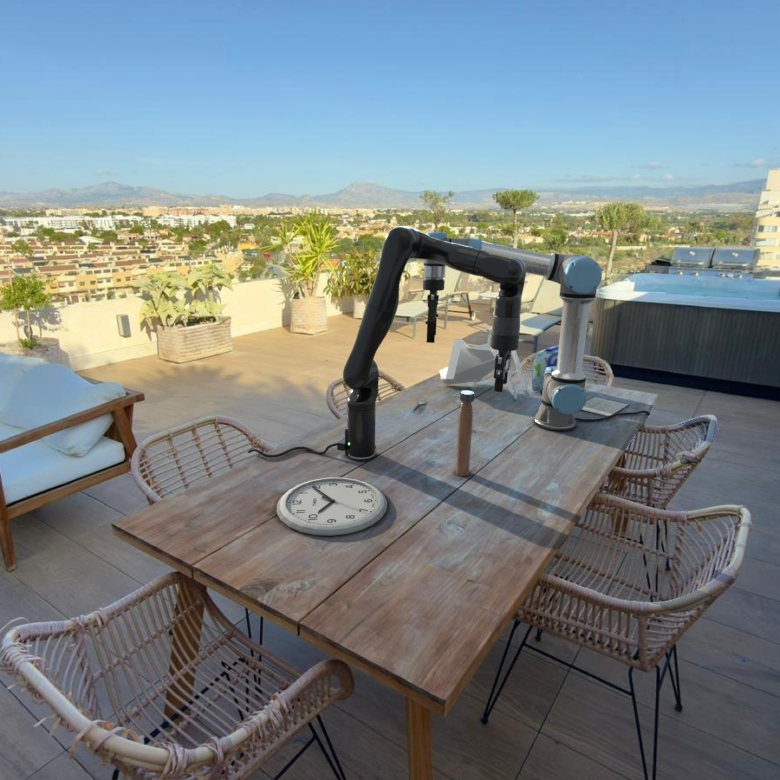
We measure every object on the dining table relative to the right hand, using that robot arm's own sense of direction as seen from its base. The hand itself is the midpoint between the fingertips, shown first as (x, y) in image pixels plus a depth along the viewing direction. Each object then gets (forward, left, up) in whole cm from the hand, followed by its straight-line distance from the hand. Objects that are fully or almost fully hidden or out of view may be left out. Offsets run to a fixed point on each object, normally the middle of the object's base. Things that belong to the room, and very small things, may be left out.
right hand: (431, 338), depth 187 cm
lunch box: (-56, -59, -35) cm, 89 cm away
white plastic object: (-22, -50, -35) cm, 65 cm away
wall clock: (+23, +61, -35) cm, 74 cm away
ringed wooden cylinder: (-13, +35, -35) cm, 51 cm away
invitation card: (-73, -38, -35) cm, 90 cm away
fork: (+5, -25, -35) cm, 43 cm away
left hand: (-22, +39, -5) cm, 45 cm away
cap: (-13, +35, -9) cm, 39 cm away
